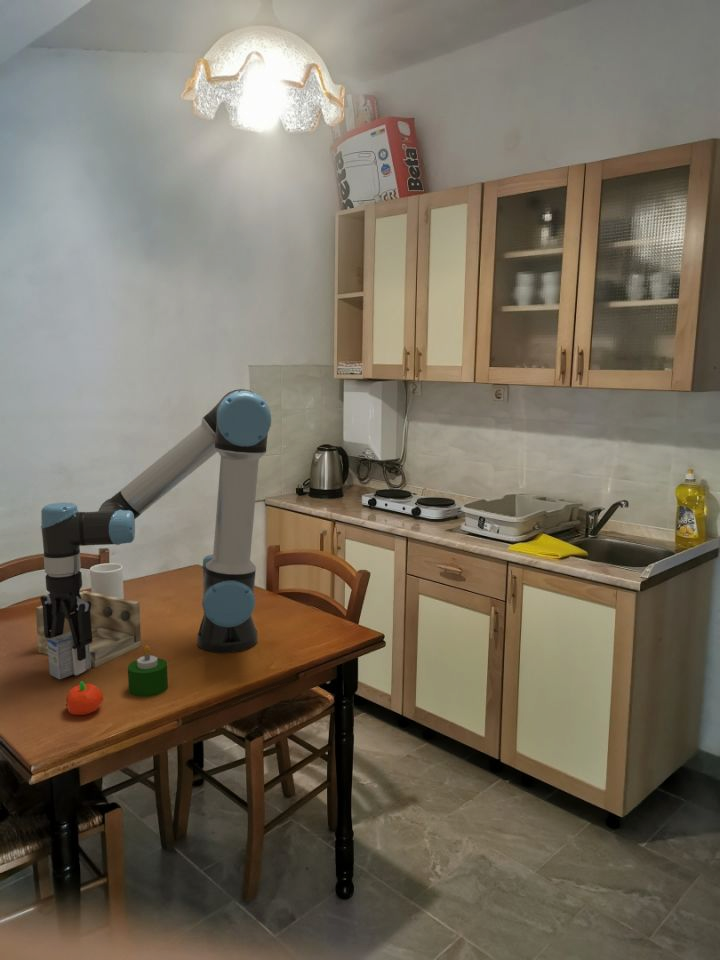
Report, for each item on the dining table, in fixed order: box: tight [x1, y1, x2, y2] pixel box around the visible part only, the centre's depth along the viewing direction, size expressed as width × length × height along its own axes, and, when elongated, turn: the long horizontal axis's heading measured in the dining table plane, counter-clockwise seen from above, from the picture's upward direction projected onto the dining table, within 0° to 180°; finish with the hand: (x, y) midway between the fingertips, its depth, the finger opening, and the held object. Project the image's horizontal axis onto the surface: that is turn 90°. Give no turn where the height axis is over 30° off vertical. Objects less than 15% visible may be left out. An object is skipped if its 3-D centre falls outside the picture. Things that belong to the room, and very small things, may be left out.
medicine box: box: [47, 632, 92, 680], centre depth 168 cm, size 8×4×9 cm, turn 141°
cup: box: [89, 562, 125, 599], centre depth 200 cm, size 8×8×16 cm
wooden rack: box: [35, 590, 142, 668], centre depth 183 cm, size 19×15×12 cm
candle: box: [127, 645, 169, 698], centre depth 162 cm, size 8×8×10 cm
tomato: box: [65, 680, 104, 716], centre depth 151 cm, size 7×8×6 cm
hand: (70, 670), depth 169 cm, fingers closed on medicine box, 5 cm apart
